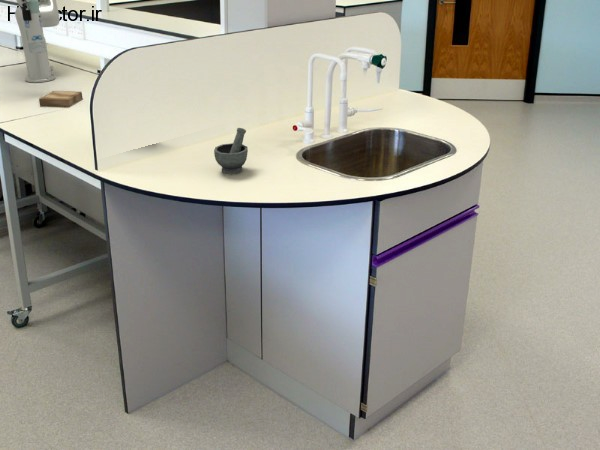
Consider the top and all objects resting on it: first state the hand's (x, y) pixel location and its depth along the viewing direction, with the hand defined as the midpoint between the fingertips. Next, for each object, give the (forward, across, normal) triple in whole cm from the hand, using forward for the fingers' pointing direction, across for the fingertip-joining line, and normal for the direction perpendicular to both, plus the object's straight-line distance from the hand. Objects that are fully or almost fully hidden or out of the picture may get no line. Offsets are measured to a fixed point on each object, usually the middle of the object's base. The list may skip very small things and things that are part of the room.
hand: (32, 18), depth 277 cm
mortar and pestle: (+29, +75, +97) cm, 126 cm away
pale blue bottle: (+13, 0, 0) cm, 13 cm away
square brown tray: (+30, +11, +12) cm, 34 cm away
